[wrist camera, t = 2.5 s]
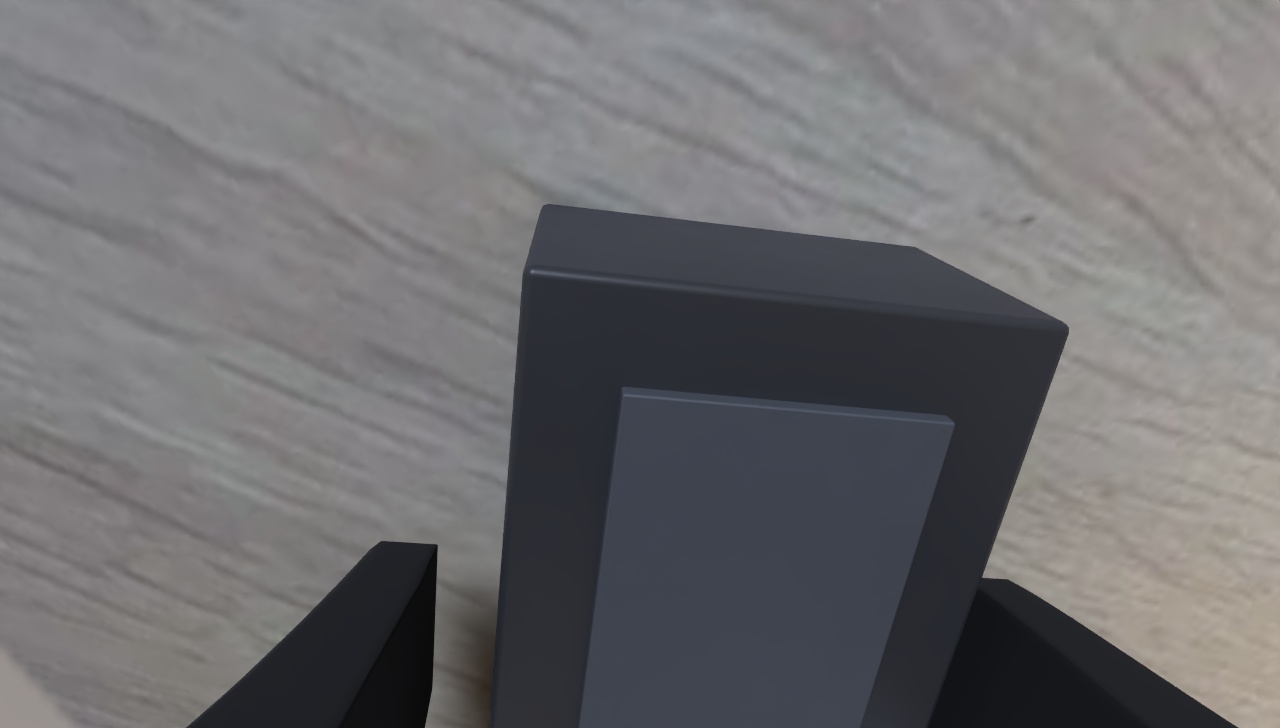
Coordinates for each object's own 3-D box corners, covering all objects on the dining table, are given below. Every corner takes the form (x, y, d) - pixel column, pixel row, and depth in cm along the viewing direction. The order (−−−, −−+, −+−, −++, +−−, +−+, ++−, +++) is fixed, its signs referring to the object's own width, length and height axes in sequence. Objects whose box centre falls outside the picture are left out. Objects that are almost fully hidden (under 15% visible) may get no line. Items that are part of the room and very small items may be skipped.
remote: (773, 788, 12) (836, 1018, 9) (494, 781, 11) (465, 1025, 8) (919, 246, 9) (1087, 331, 6) (542, 201, 8) (521, 270, 5)
